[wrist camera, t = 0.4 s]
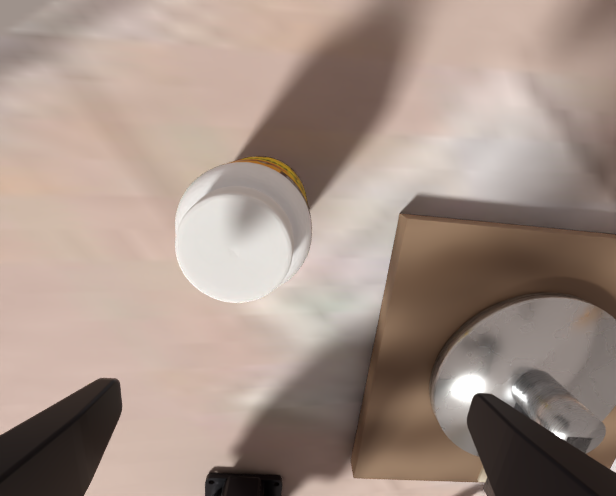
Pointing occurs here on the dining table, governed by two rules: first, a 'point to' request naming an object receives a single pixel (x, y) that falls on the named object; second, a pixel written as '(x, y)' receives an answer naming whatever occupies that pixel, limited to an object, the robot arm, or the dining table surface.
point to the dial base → (450, 317)
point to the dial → (531, 368)
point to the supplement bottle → (243, 229)
